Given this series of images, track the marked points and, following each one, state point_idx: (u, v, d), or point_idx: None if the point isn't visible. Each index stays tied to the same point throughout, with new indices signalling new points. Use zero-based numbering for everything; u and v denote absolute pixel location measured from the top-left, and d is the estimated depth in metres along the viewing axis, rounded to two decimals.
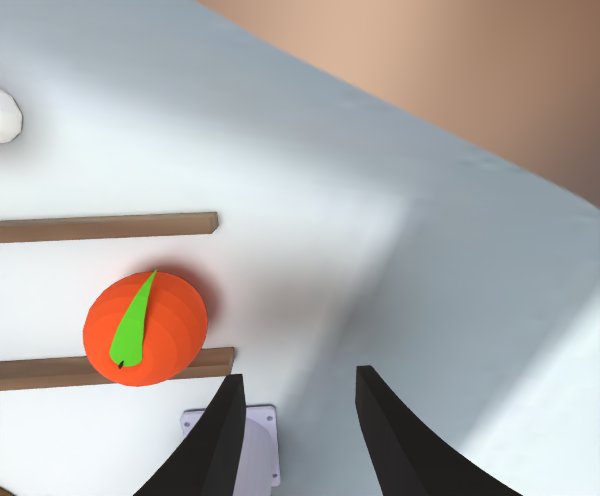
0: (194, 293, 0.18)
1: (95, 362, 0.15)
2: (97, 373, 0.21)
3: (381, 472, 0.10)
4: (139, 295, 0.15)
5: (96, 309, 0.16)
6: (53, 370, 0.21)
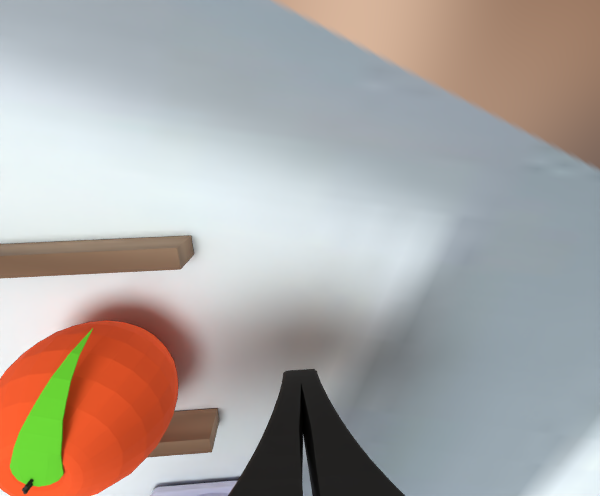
0: (156, 353, 0.13)
1: None
2: None
3: (311, 478, 0.10)
4: (57, 377, 0.10)
5: None
6: None
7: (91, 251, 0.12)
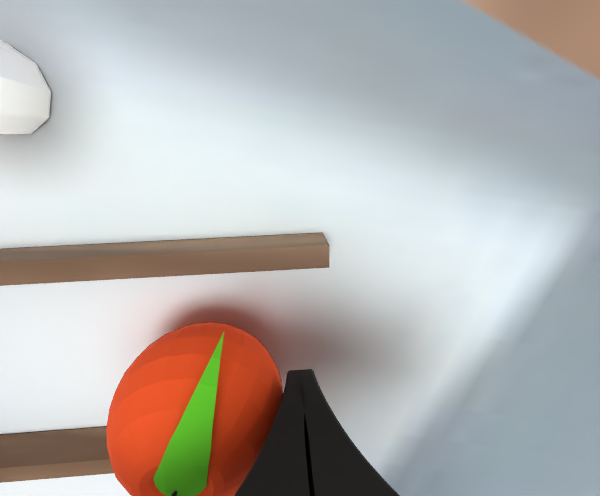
0: (267, 356, 0.12)
1: (129, 489, 0.09)
2: None
3: (308, 478, 0.10)
4: (203, 383, 0.09)
5: (129, 399, 0.10)
6: (88, 449, 0.15)
7: (241, 249, 0.12)
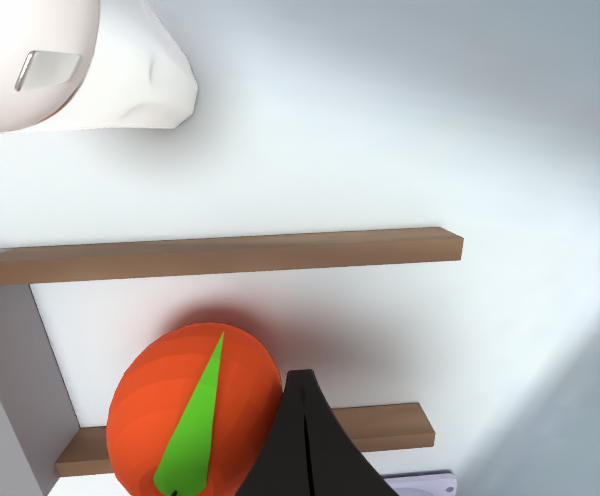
0: (267, 356, 0.12)
1: (129, 489, 0.09)
2: None
3: (308, 478, 0.10)
4: (203, 383, 0.09)
5: (128, 398, 0.10)
6: None
7: (378, 242, 0.12)
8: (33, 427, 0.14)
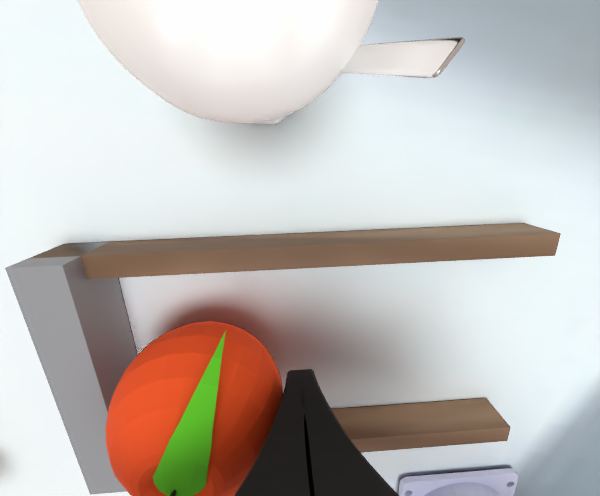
0: (267, 356, 0.12)
1: (128, 488, 0.09)
2: None
3: (308, 478, 0.10)
4: (204, 383, 0.09)
5: (129, 397, 0.10)
6: None
7: (477, 237, 0.12)
8: None
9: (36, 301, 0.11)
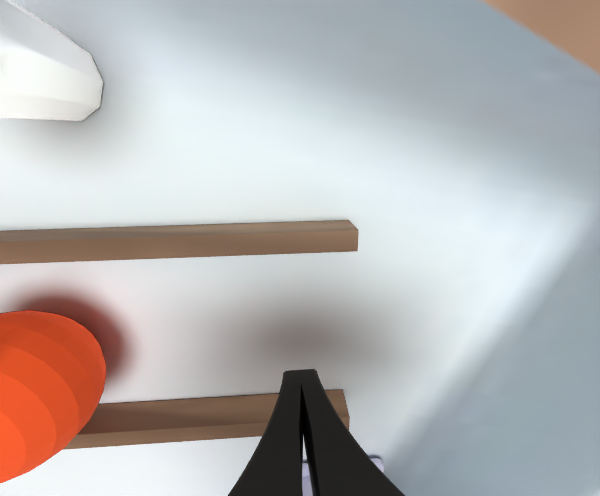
0: (77, 344, 0.13)
1: None
2: (181, 428, 0.16)
3: (311, 478, 0.10)
4: None
5: None
6: (121, 422, 0.16)
7: (277, 232, 0.13)
8: None
9: None
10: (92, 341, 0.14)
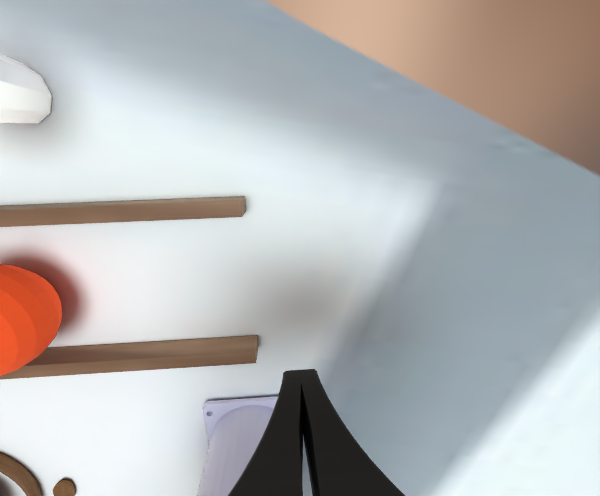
0: (36, 286, 0.18)
1: None
2: (122, 360, 0.21)
3: (311, 478, 0.10)
4: None
5: None
6: (77, 357, 0.21)
7: (180, 203, 0.18)
8: None
9: None
10: (49, 288, 0.19)
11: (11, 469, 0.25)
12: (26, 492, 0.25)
